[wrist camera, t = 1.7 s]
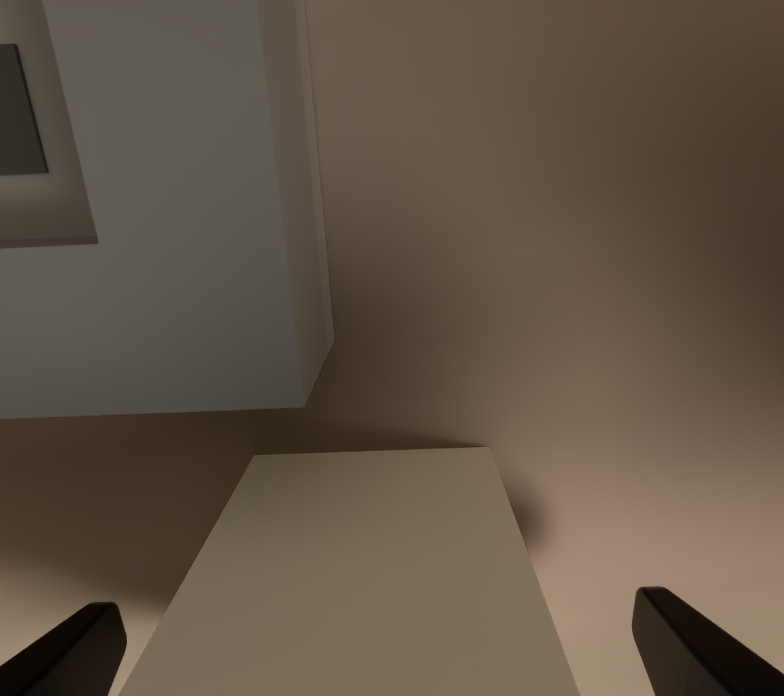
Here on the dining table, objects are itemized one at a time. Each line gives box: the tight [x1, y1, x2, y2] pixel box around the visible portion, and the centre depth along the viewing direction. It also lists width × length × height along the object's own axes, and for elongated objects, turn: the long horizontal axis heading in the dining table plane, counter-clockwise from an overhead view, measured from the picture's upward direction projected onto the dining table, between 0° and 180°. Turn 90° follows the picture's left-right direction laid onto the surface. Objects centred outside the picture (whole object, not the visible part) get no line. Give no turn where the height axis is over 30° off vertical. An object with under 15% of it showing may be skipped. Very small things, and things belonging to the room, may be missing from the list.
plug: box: [118, 447, 580, 696], centre depth 7 cm, size 4×4×6 cm
